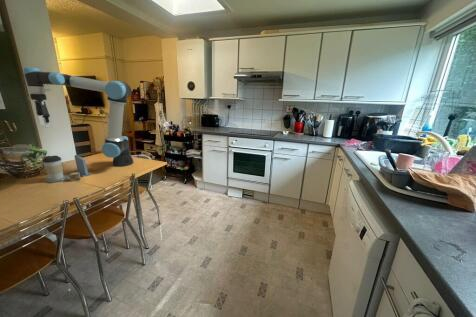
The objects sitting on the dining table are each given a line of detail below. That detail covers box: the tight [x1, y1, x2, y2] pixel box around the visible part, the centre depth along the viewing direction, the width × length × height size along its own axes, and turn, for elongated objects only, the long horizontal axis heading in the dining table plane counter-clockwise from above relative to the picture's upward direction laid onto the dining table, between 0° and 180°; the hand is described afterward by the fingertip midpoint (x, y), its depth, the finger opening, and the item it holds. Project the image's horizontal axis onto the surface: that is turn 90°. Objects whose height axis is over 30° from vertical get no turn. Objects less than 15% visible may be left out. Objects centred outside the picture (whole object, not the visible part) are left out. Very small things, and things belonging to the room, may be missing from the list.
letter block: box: [69, 171, 82, 182], centre depth 132 cm, size 4×4×5 cm
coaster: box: [45, 174, 70, 184], centre depth 132 cm, size 12×12×1 cm
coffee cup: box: [42, 155, 64, 180], centre depth 129 cm, size 9×9×15 cm
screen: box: [73, 154, 92, 178], centre depth 141 cm, size 16×5×12 cm, turn 54°
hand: (45, 126), depth 136 cm, fingers open, 13 cm apart
